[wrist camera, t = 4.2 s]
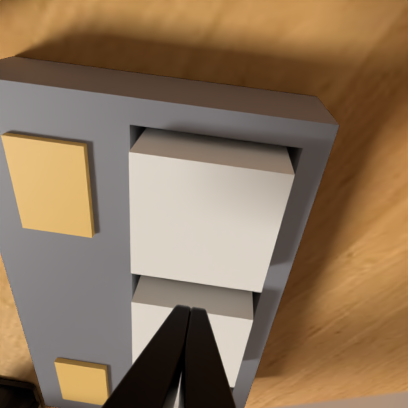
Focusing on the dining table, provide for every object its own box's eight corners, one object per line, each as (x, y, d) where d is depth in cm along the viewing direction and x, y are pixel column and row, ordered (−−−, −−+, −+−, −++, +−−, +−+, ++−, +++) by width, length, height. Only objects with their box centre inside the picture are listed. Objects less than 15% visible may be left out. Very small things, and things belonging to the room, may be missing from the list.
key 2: (145, 237, 16) (130, 273, 14) (146, 127, 13) (128, 151, 11) (258, 253, 16) (261, 292, 14) (286, 146, 13) (294, 175, 11)
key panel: (235, 381, 27) (234, 440, 23) (69, 355, 27) (43, 409, 24) (316, 96, 15) (341, 128, 11) (12, 56, 15) (-60, 73, 11)
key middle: (143, 332, 20) (132, 371, 18) (144, 264, 17) (131, 302, 15) (234, 346, 20) (234, 387, 18) (251, 280, 17) (253, 320, 15)
